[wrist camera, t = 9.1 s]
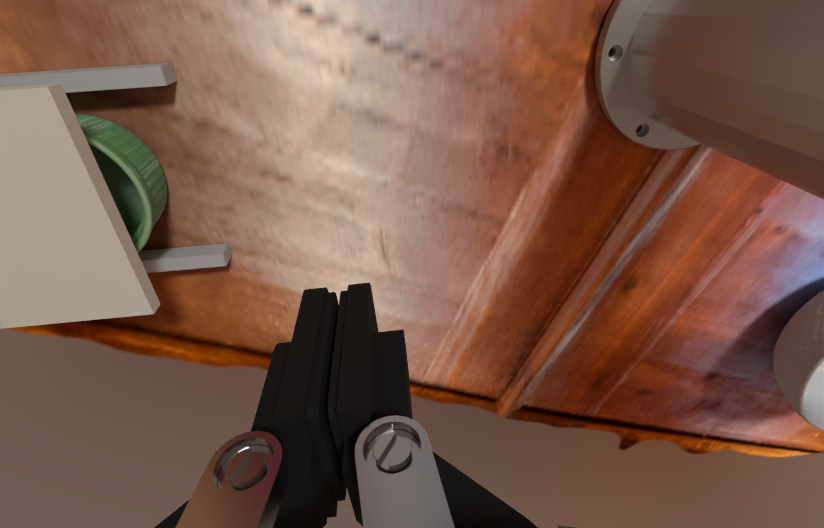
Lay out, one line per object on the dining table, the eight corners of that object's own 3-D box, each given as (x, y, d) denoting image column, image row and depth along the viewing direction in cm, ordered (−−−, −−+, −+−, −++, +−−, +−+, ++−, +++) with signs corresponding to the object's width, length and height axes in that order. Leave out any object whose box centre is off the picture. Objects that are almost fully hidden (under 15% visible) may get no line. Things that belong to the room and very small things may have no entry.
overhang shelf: (170, 62, 25) (116, 82, 20) (232, 255, 32) (204, 309, 27) (-55, 77, 25) (-177, 102, 19) (56, 270, 32) (-9, 329, 26)
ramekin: (174, 249, 32) (149, 283, 28) (31, 219, 30) (-17, 251, 26) (181, 129, 27) (152, 151, 24) (15, 84, 25) (-46, 99, 22)
